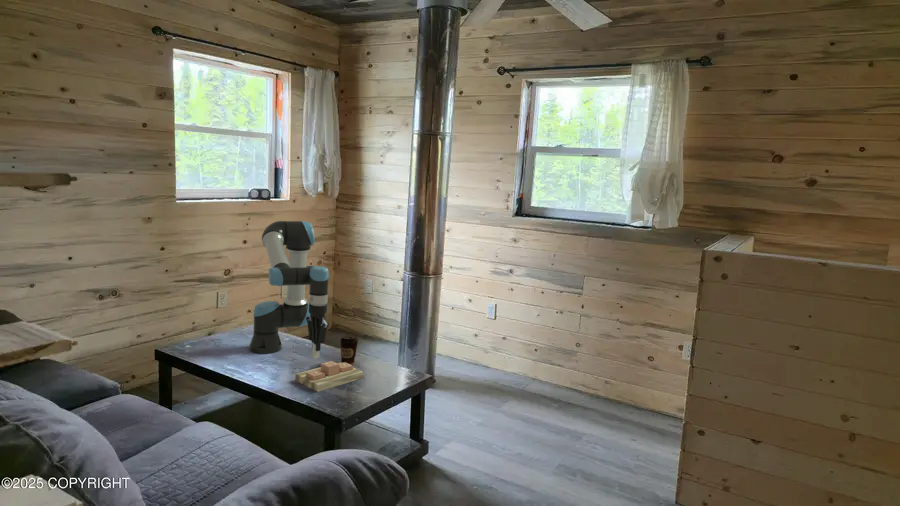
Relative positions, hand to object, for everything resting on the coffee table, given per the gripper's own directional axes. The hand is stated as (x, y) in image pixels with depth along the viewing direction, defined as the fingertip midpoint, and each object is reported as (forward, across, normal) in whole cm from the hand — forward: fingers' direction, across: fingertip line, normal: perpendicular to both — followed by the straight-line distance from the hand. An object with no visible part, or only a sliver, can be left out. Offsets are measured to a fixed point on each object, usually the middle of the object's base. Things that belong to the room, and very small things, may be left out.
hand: (315, 357), depth 235 cm
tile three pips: (+11, +1, +15) cm, 19 cm away
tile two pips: (+9, +1, +7) cm, 12 cm away
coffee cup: (+12, -10, +26) cm, 31 cm away
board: (+12, +1, +7) cm, 14 cm away
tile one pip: (+11, +1, 0) cm, 11 cm away
